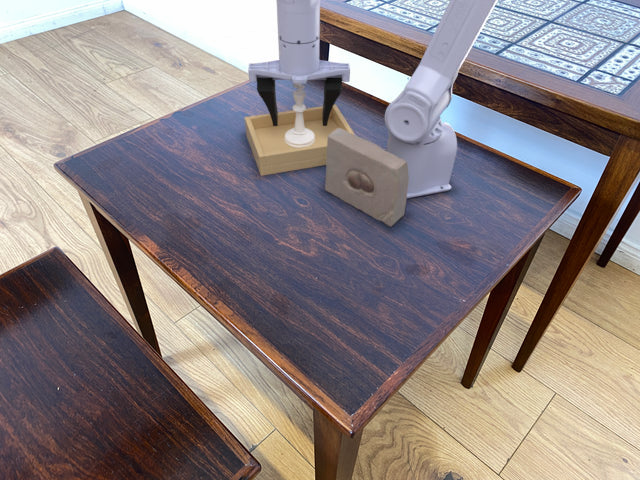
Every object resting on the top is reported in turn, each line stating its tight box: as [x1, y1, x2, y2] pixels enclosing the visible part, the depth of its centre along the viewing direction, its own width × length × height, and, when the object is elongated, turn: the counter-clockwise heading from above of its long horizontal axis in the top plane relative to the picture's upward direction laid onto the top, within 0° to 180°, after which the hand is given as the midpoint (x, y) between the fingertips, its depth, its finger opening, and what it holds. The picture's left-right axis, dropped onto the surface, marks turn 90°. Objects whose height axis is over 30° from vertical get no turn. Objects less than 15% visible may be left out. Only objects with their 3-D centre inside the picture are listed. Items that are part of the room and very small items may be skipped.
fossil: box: [324, 128, 409, 228], centre depth 68 cm, size 12×4×10 cm, turn 49°
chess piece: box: [284, 83, 315, 148], centre depth 77 cm, size 5×5×10 cm
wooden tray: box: [244, 104, 356, 177], centre depth 80 cm, size 16×12×4 cm
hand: (300, 122), depth 78 cm, fingers open, 7 cm apart
